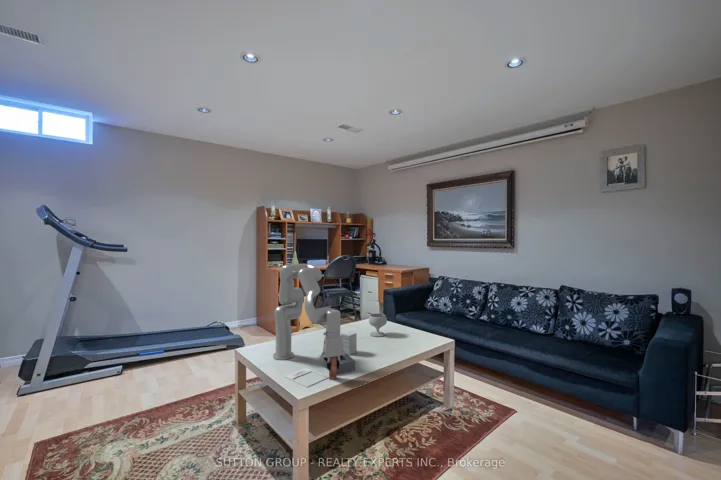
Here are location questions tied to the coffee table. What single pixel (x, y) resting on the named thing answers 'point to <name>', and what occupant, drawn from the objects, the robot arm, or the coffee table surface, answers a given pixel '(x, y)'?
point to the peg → (333, 368)
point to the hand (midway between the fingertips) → (333, 368)
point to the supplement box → (349, 342)
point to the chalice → (377, 323)
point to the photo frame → (303, 372)
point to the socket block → (344, 364)
